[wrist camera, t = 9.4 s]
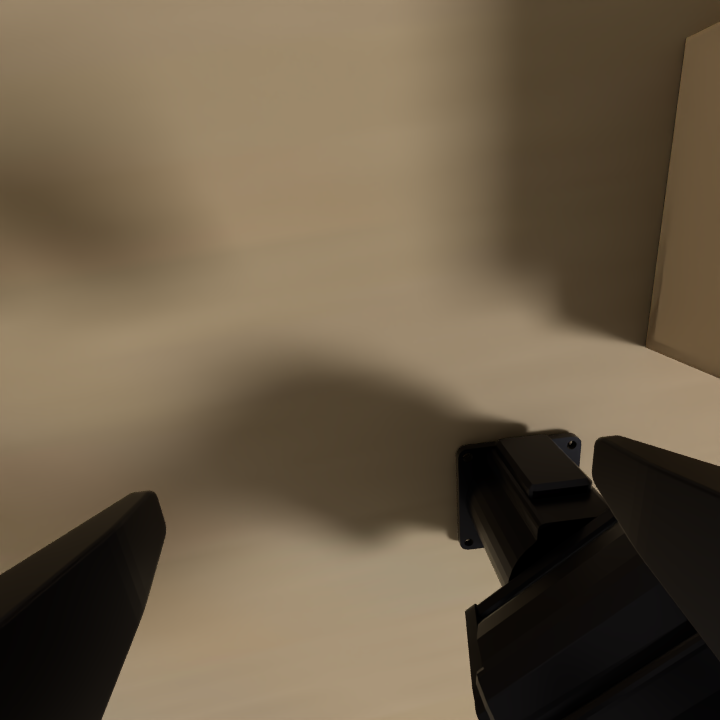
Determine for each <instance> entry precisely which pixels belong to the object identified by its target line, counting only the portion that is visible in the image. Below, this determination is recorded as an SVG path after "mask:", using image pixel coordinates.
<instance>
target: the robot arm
mask: <svg viewBox="0 0 720 720" xmlns="http://www.w3.org/2000/svg"><path fill="white" fill-rule="evenodd" d="M570 441H572V443H571V444H570V445H568V446H567V444H568V443H569V442H570ZM467 453H470V455H469V456H468V457H466V458H464V457H463V456H464V455H465V454H467ZM580 453H581V440H580V439H579V438H578V437H577V436H576V435H575V434H573V433H564V434H555V435H546V434H541V435H532V436H524V437H515V438H507V439H500V440H498V441H496V442H487V443H478V444H470V445H464V446H461V447H460V448H459V449H458V450H457V452H456V474H457V516H458V540H459V543H460V545H461V547H462V548H463V549H467V550H469V549H477V548H485V550H486V553H487V555H488V557H489V559H490V561H491V564H492V566H493V568H494V570H495V572H496V574H497V577H498V579H499V581H500V583H501V585H502V587H501V588H500V589H499V590H497V591H496V592H494V593H493V594H492V595H490V596H489V597H488V598H486V599H485V600H484V601H482V602H481V603H480V604H478V605H477V604H474V605H472V606H471V607H470V608H468V609H467V610H466V611H465V616H466V627H467V637H468V648H469V658H470V669H471V680H472V689H473V695H474V700H475V710H476V714H477V717H478V719H479V720H720V466H717V465H713V464H710V463H707V462H704V461H700V460H697V459H694V458H691V457H687V456H684V455H681V454H678V453H674V452H671V451H668V450H665V449H661V448H658V447H655V446H652V445H648V444H645V443H642V442H639V441H635V440H632V439H629V438H626V437H622V436H618V435H614V436H606V437H600V438H598V439H597V440H596V442H595V445H594V455H593V465H592V477H593V481H594V483H595V485H596V487H597V488H598V490H599V492H600V493H601V495H602V496H601V495H600V494H599V493H598V492H597V490H596V489H595V488H594V487H593V486H592V480H591V479H590V478H589V477H588V476H587V475H586V474H585V473H584V472H583V471H582V470H581V469H580V468H579V464H580ZM165 535H166V524H165V520H164V517H163V514H162V510H161V507H160V504H159V500H158V497H157V495H156V494H155V492H153V491H142V492H134V493H131V494H129V495H127V496H126V497H124V498H122V499H121V500H119V501H118V502H116V503H114V504H113V505H111V506H110V507H108V508H106V509H105V510H103V511H102V512H100V513H98V514H97V515H95V516H94V517H92V518H91V519H89V520H87V521H86V522H84V523H83V524H81V525H79V526H78V527H76V528H75V529H73V530H71V531H70V532H68V533H67V534H65V535H63V536H62V537H60V538H59V539H57V540H55V541H54V542H52V543H51V544H49V545H47V546H46V547H44V548H43V549H41V550H39V551H38V552H36V553H35V554H33V555H31V556H30V557H28V558H27V559H25V560H23V561H22V562H20V563H19V564H17V565H15V566H14V567H12V568H11V569H9V570H7V571H6V572H4V573H3V574H1V575H0V720H102V717H103V714H104V712H105V709H106V707H107V704H108V702H109V699H110V697H111V694H112V692H113V689H114V687H115V684H116V682H117V679H118V676H119V674H120V671H121V669H122V666H123V664H124V661H125V659H126V656H127V654H128V651H129V649H130V646H131V644H132V641H133V638H134V636H135V633H136V631H137V628H138V626H139V623H140V620H141V618H142V615H143V612H144V609H145V606H146V603H147V600H148V596H149V593H150V589H151V586H152V582H153V579H154V575H155V571H156V568H157V564H158V561H159V557H160V554H161V550H162V547H163V543H164V539H165ZM467 539H470V540H468V541H466V540H467Z"/></svg>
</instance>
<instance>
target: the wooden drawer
mask: <svg viewBox="0 0 720 720" xmlns="http://www.w3.org/2000/svg"><path fill="white" fill-rule="evenodd" d="M646 348H648V349H651V350H653V351H656V352H658V353H660V354H663V355H665V356H667V357H670V358H672V359H675V360H677V361H679V362H682V363H684V364H687V365H689V366H691V367H694V368H696V369H698V370H701V371H703V372H706V373H708V374H710V375H713V376H715V377H718V378H720V22H718V23H716V24H714V25H712V26H710V27H708V28H706V29H704V30H702V31H700V32H698V33H696V34H694V35H692V36H690V37H688V38H686V44H685V52H684V59H683V67H682V74H681V82H680V89H679V97H678V105H677V112H676V120H675V127H674V135H673V142H672V150H671V158H670V165H669V173H668V180H667V188H666V195H665V203H664V210H663V218H662V226H661V233H660V241H659V248H658V256H657V263H656V271H655V279H654V286H653V294H652V301H651V309H650V316H649V324H648V331H647V339H646Z"/></svg>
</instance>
